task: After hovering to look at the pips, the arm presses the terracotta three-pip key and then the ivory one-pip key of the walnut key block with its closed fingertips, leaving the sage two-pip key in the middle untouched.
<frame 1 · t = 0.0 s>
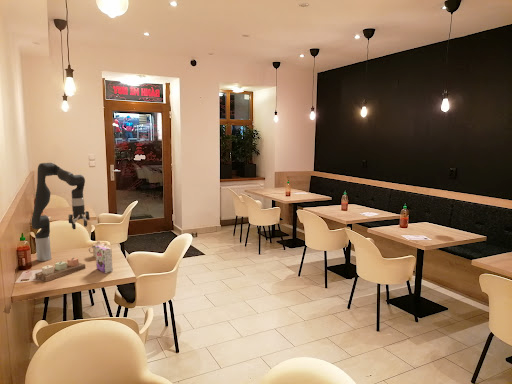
hand: (79, 227, 262), 29 cm above the table, tool pointing down, fingers open, 8 cm apart
teacup with lid: (97, 256, 295), on the table
key block: (61, 273, 258), on the table
key one: (47, 269, 250), point 5 cm above the table, slide at 0.0 cm
candy box: (104, 270, 263), on the table
key two: (60, 265, 258), point 5 cm above the table, slide at 0.0 cm
key three: (72, 261, 265), point 5 cm above the table, slide at 0.0 cm
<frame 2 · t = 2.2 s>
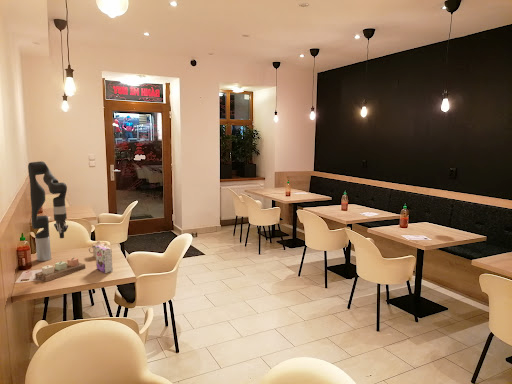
hand: (62, 238, 257), 24 cm above the table, tool pointing down, fingers closed
nothing on the table moved.
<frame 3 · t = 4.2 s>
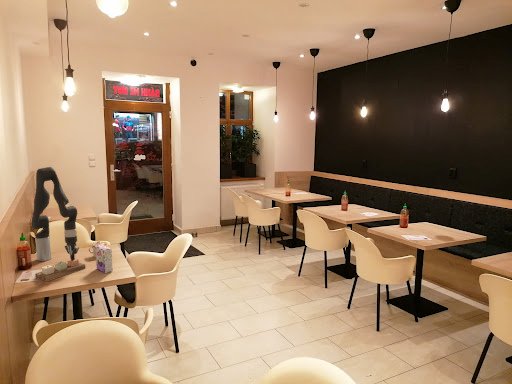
hand: (72, 259, 265), 7 cm above the table, tool pointing down, fingers closed
key three: (73, 262, 265), point 5 cm above the table, slide at 0.6 cm, touching gripper
everything else where it was.
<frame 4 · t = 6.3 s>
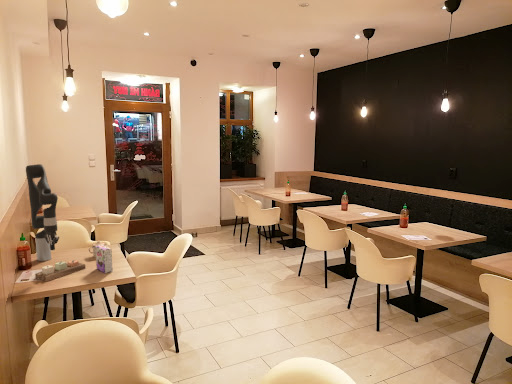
hand: (52, 249, 251), 17 cm above the table, tool pointing down, fingers closed
key three: (73, 264, 266), point 3 cm above the table, slide at 1.8 cm
everything else where it was.
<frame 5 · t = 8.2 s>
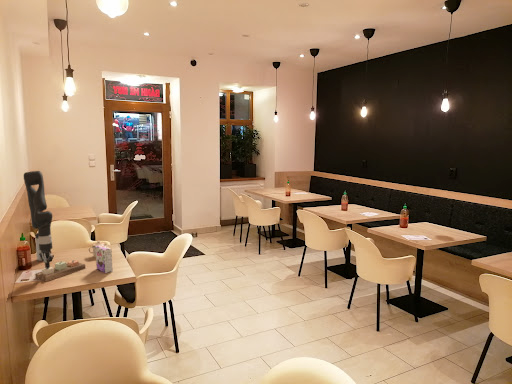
hand: (47, 268, 250), 6 cm above the table, tool pointing down, fingers closed
key one: (48, 271, 250), point 4 cm above the table, slide at 1.0 cm, touching gripper
everything else where it was.
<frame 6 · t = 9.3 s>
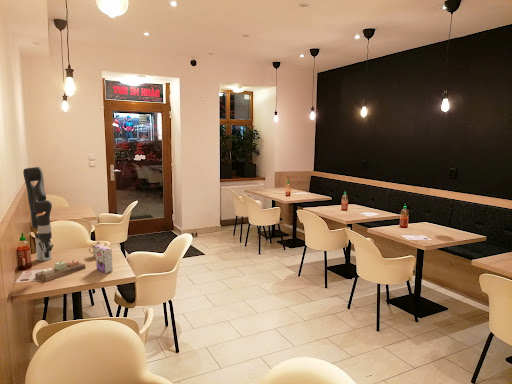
hand: (47, 257, 249), 13 cm above the table, tool pointing down, fingers closed
key one: (48, 272, 250), point 3 cm above the table, slide at 1.8 cm
everything else where it was.
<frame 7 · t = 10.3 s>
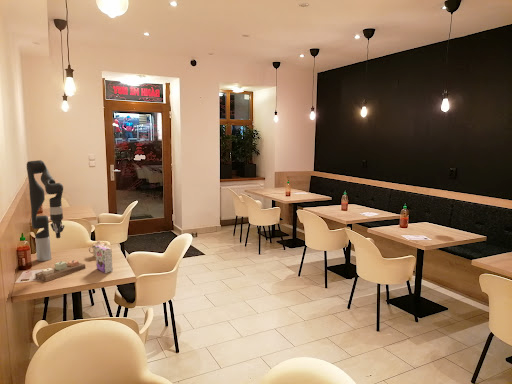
hand: (58, 237, 260), 23 cm above the table, tool pointing down, fingers closed
nothing on the table moved.
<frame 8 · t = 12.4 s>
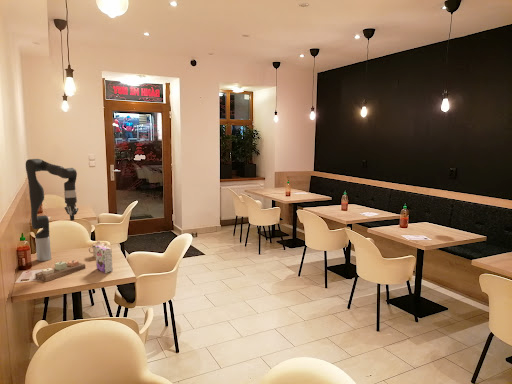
hand: (72, 220, 273), 32 cm above the table, tool pointing down, fingers closed
nothing on the table moved.
at the end: key three slide at 1.8 cm; key one slide at 1.8 cm; key two slide at 0.0 cm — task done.
